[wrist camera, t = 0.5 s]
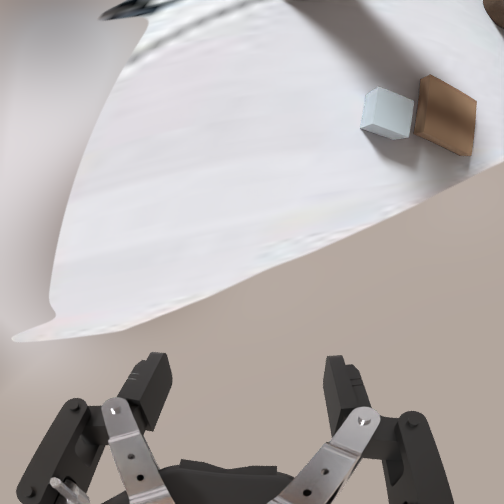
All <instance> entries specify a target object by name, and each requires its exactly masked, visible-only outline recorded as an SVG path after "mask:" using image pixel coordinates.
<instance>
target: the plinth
mask: <svg viewBox="0 0 504 504" xmlns="http://www.w3.org/2000/svg"><path fill="white" fill-rule="evenodd" d="M476 105H477V101H476V100H474V99H472V98H471V97H469V96H468V95H466V94H464V93H463V92H461V91H459V90H458V89H456V88H454V87H453V86H451V85H449V84H447V83H445V82H444V81H442V80H440V79H438V78H436V77H434V76H432V75H428V76H426V77H424V78H422V79H420V90H419V99H418V107H417V115H416V122H415V128H414V134H415V135H417V136H420V137H422V138H424V139H426V140H429V141H431V142H433V143H435V144H437V145H439V146H441V147H444V148H446V149H448V150H450V151H452V152H454V153H456V154H458V155H459V156H471V154H472V147H473V139H474V130H475V119H476Z"/></svg>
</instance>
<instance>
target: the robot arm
mask: <svg viewBox="0 0 504 504" xmlns="http://www.w3.org/2000/svg"><path fill="white" fill-rule="evenodd" d="M171 386H172V373H171V369H170V365H169V361H168V357H167V355H166V353H158V352H151V353H150V355H149V357H148V358H147V360H146V361H145V360H142V361H141V362H139V363H138V364H137V365H135V367H134V369H133V370H132V372H131V374H130V375H129V377H128V379H127V380H126V382H125V384H124V385H123V387H122V389H121V391H120V392H119V394H118V396H117V397H115V398H111V399H108V400H107V401H105V402H104V403H103V405H102V406H87V404H86V402H85V401H84V400H82V399H80V398H73V399H70V400H68V401H67V402H66V403H65V404H64V405H63V407H62V409H61V410H60V412H59V413H58V415H57V417H56V418H55V420H54V422H53V423H52V425H51V427H50V428H49V430H48V432H47V433H46V435H45V437H44V438H43V440H42V442H41V444H40V445H39V447H38V449H37V451H36V452H35V454H34V456H33V458H32V460H31V462H30V463H29V465H28V467H27V469H26V471H25V473H24V475H23V477H22V478H21V481H20V482H19V484H18V486H17V490H16V493H17V497H18V499H19V501H20V502H21V503H23V504H90V500H89V497H88V496H87V494H86V492H87V490H88V487H89V485H90V482H91V480H92V477H93V475H94V472H95V470H96V467H97V465H98V462H99V460H100V457H101V455H102V453H103V450H104V447H105V445H109V446H110V449H111V452H112V455H113V458H114V461H115V464H116V466H117V469H118V472H119V474H120V477H121V480H122V482H123V485H124V487H125V489H126V490H125V491H124V492H122V493H120V494H119V495H117V496H115V497H113V498H111V499H109V500H107V501H106V502H104V503H102V504H332V502H333V501H334V500H335V498H336V497H337V496H338V495H339V493H340V492H341V490H342V489H343V487H344V485H345V484H346V483H347V481H348V480H349V478H350V477H351V475H352V474H353V472H354V471H355V469H356V468H357V466H358V465H359V463H360V462H361V460H362V459H363V458H370V459H380V460H382V464H383V470H384V475H385V481H386V487H387V493H388V499H389V504H454V501H453V498H452V494H451V490H450V487H449V483H448V480H447V477H446V474H445V470H444V467H443V464H442V461H441V458H440V455H439V452H438V449H437V446H436V444H435V441H434V438H433V435H432V433H431V430H430V427H429V424H428V422H427V420H426V418H425V416H424V415H423V414H421V413H419V412H416V411H408V412H405V413H403V414H402V415H401V416H400V418H389V417H383V416H380V415H379V413H378V412H377V411H376V410H375V409H373V408H372V407H371V405H370V402H369V399H368V396H367V393H366V390H365V387H364V385H363V381H362V380H361V375H360V373H359V370H358V369H357V368H355V366H354V365H352V364H351V365H345V362H344V359H343V356H342V355H337V356H327V358H326V365H325V372H324V379H323V389H324V395H325V400H326V406H327V411H328V417H329V423H330V428H331V435H332V439H331V441H330V442H326V443H325V444H324V445H323V446H322V447H321V448H320V449H319V451H318V452H317V453H316V454H315V456H314V457H313V458H312V459H311V460H310V462H309V463H308V464H307V465H306V466H305V467H304V468H303V470H302V471H301V472H300V473H299V474H298V475H297V476H296V477H295V478H294V477H292V476H290V475H287V474H284V473H280V472H277V466H248V467H242V468H235V469H223V468H220V467H217V466H214V465H211V464H208V463H204V462H198V461H191V460H183V459H181V462H180V465H174V466H170V467H166V468H163V469H160V468H159V466H158V464H157V462H156V461H155V459H154V456H153V455H152V452H151V450H150V448H149V446H148V444H147V442H146V440H145V438H144V432H145V430H147V431H154V428H155V426H156V423H157V421H158V418H159V416H160V413H161V410H162V408H163V406H164V403H165V401H166V398H167V396H168V393H169V391H170V388H171Z"/></svg>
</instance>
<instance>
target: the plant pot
mask: <svg viewBox="0 0 504 504" xmlns="http://www.w3.org/2000/svg"><path fill="white" fill-rule="evenodd" d="M483 5H484V8H485V10H486V12H487V13H488V15H489V16H490V17H491V19H492V20H493V21H494V22H495V23H496V24H497V25H498V26H500V27H501V28H504V0H483Z"/></svg>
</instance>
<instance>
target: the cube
mask: <svg viewBox="0 0 504 504" xmlns="http://www.w3.org/2000/svg"><path fill="white" fill-rule="evenodd" d="M413 107H414V101H413V100H411V99H409V98H406V97H404V96H402V95H399V94H397V93H394V92H392V91H389V90H387V89H384V88H382V87H379V86H378V87H377V88H375V89H374V90H372V91H371V92H369V93H368V94H366V97H365V103H364V109H363V114H362V120H361V125H360V129H363V130H366V131H369V132H372V133H375V134H378V135H381V136H384V137H386V138H389V139H392V140H396V139H402V138H409V133H410V127H411V121H412V114H413Z"/></svg>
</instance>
